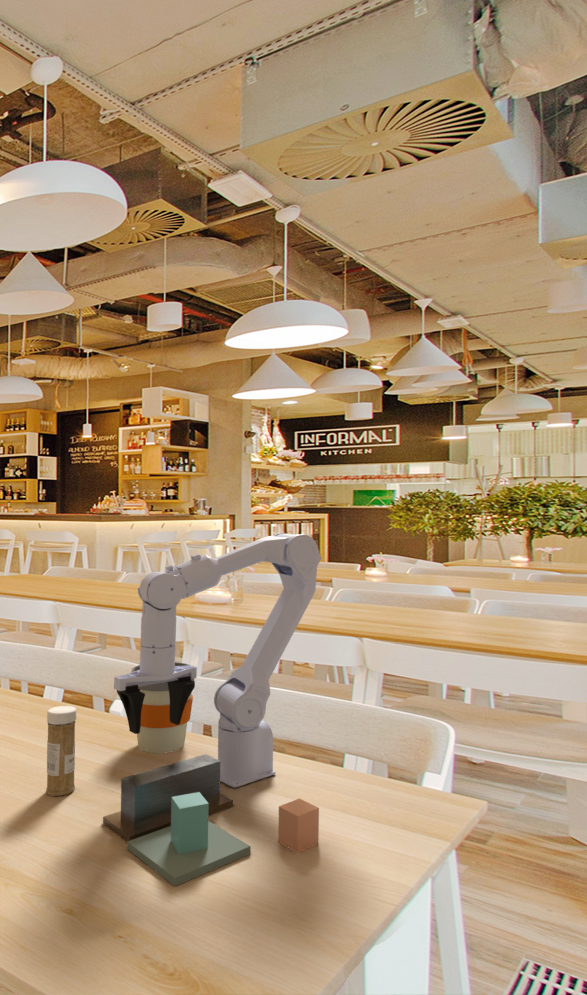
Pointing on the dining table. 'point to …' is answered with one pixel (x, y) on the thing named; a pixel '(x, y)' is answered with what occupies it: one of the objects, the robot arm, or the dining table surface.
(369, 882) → the dining table surface
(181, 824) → the block
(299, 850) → the terracotta block
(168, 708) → the reusable coffee cup
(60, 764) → the spice jar
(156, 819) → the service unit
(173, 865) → the pad
